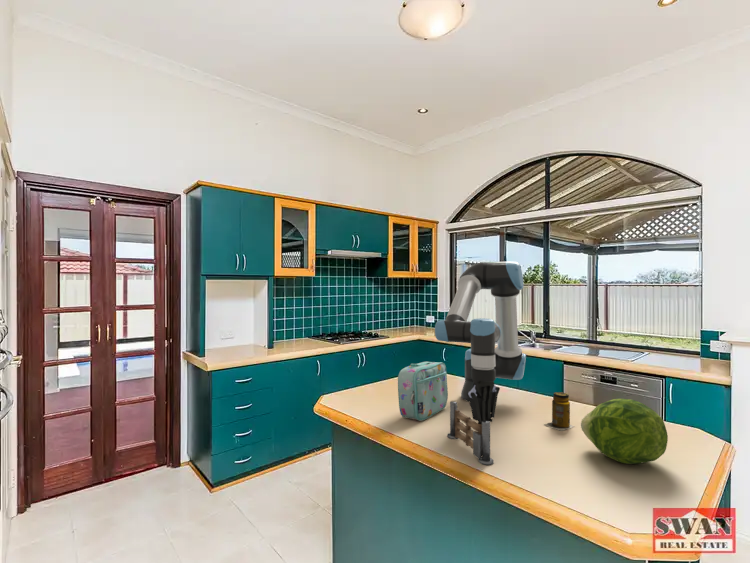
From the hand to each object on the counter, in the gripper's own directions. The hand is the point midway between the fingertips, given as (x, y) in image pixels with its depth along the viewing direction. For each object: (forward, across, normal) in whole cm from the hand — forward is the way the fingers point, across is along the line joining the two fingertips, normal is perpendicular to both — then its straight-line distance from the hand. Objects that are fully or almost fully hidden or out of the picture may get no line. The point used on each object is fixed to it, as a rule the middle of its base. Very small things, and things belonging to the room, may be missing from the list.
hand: (484, 441), depth 126 cm
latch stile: (+3, +6, +6) cm, 8 cm away
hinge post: (+3, 0, -14) cm, 14 cm away
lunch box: (+3, -6, -38) cm, 38 cm away
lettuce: (+4, -30, +26) cm, 40 cm away
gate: (+2, +3, -4) cm, 5 cm away
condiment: (+4, -41, 0) cm, 41 cm away
